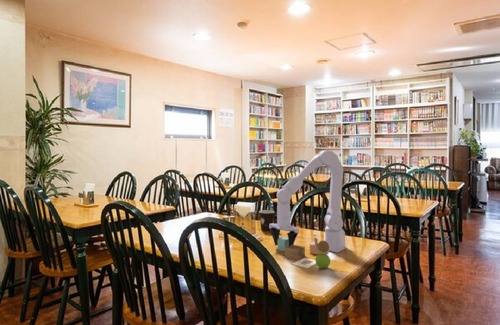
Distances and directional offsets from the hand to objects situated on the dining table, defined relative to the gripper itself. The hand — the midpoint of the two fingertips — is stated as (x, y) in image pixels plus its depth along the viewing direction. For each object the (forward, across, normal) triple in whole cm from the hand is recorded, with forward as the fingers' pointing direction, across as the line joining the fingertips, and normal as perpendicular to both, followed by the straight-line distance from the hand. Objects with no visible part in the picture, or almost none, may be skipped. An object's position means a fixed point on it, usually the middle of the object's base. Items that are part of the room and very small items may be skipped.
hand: (283, 246), depth 151 cm
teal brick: (+2, 0, 0) cm, 2 cm away
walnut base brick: (+2, +9, -5) cm, 10 cm away
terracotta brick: (+2, +13, +5) cm, 14 cm away
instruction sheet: (+1, +17, -10) cm, 20 cm away
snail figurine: (+2, +24, -10) cm, 26 cm away
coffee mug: (+2, -27, +24) cm, 36 cm away
